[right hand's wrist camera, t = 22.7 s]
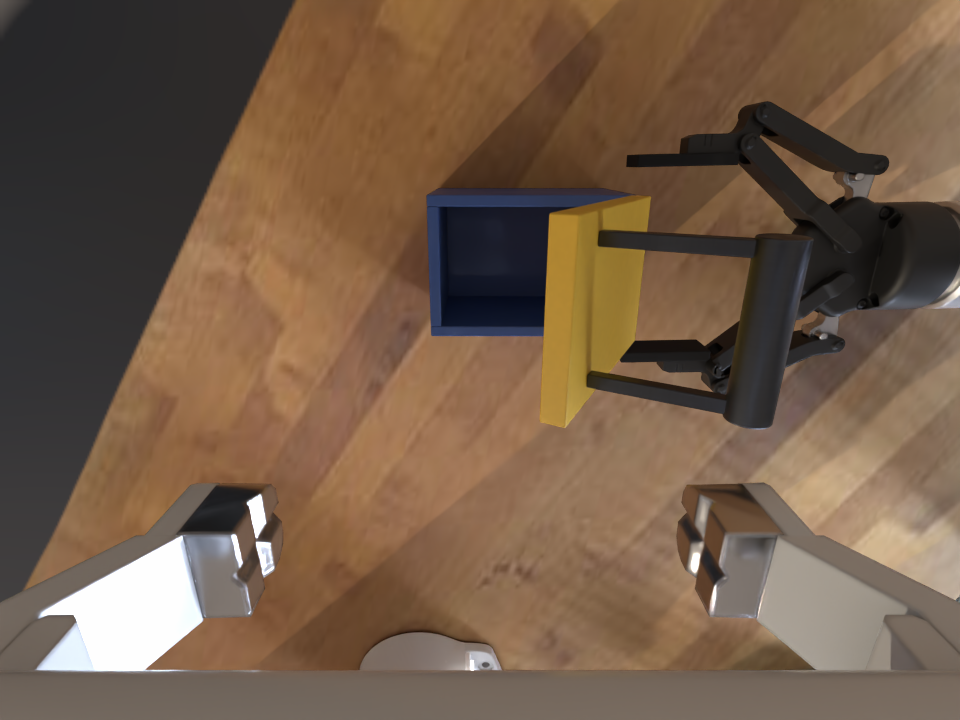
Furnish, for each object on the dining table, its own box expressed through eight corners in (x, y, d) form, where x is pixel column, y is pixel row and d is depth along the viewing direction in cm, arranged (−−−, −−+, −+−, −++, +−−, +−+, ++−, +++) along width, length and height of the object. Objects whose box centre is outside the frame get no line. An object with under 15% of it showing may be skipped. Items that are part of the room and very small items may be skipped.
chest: (440, 302, 45) (431, 336, 36) (437, 188, 41) (426, 194, 33) (594, 302, 45) (622, 336, 36) (603, 188, 41) (637, 195, 33)
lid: (538, 422, 24) (767, 476, 20) (548, 212, 21) (825, 225, 17) (615, 338, 36) (770, 361, 31) (630, 195, 32) (804, 200, 28)
